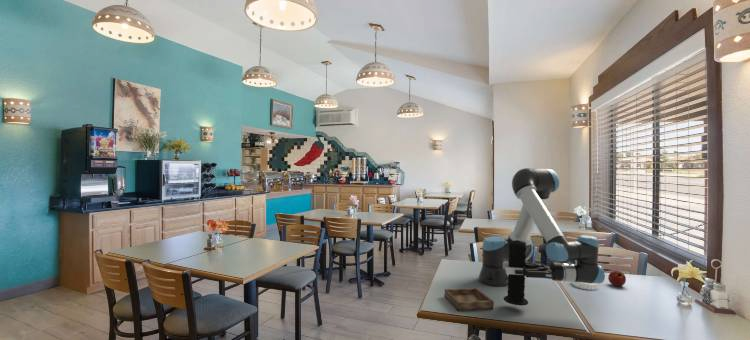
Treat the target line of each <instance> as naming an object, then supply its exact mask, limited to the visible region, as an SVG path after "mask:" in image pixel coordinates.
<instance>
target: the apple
mask: <svg viewBox="0 0 750 340" xmlns="http://www.w3.org/2000/svg"><path fill="white" fill-rule="evenodd" d="M607 280H608V282H609V283H610V284H611V285H613V286H615V287H622V286H625V283H626V282H627V277H626V275H625V274H624V273H623V272H621V270H613V271H610V273H609V274H608V277H607Z"/></svg>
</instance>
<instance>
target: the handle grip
mask: <svg viewBox="0 0 750 340" xmlns="http://www.w3.org/2000/svg"><path fill="white" fill-rule="evenodd" d="M509 244H510V245H509V261H507V262H508V263H509V265H508V266H509V267H512V268H525V265H526V263H525V262H526V261H527V260H525V259H526V255H525V254H526V247H525V246H526V243H525V242H522V241H519V240H514V241H509ZM507 275H508V285H507V295H505V296H504V297H503V301H504V302H506V303H507V304H510V305H514V306H527V305H528V304H529V301H528V299H526V298H525V296H526V295H525V291H526V290H525V289H526V288H525V287H526V278H525V277H526V276H524V275H514V274H507Z"/></svg>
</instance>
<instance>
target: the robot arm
mask: <svg viewBox="0 0 750 340" xmlns="http://www.w3.org/2000/svg"><path fill="white" fill-rule="evenodd" d="M511 187H512V190H513V193H514V195H515V197H516V199H518V200H520V201H521V202H522V206H521V209H520V211H519V215H518V217H517V221H516V222H515V226H514V228H513V231H512V232H509V234H508V237H507V239H506V237H503V236H496V235H495V236H488V237H485V238H484V240H483V241H482V267H481V269H480V271H479V274H478V281H479V282H480V283H481V284H484V285H487V286H490V287H491V286H492V287H505V286H508V274H514V275H524V276H525V277H526V278H534V279H535V278H536V279H549V280H551V281H555V282H556V281H557V282H561V281H562V282H568V283H572V282H582V283H590V284H592V283H593V284H598V283H599V284H602V283H604V281H605V279H606V278H605V277H606V274H605V270H604V268H603V266H601V265H599V264H598V261H599V248H600V247H599V239H598V238H597V237H596V236H592V235H586V234H584V235H583V234H582V235H578V236H577V238H576V241H574V240H573V241H568V240H567V238H566V236H565V234H564V233H563V232H562V230H561V229H560V227H559V226H558V224H557V222H556V220H554V218H553V216H552V214H551V213H550V211H549V210H548V208H547V206H546V205H545V203H544V202H545V200H548V199H549V198H550V195H551V193H555V192H557V190H558V189H559V187H560V178H559V176H558V174H557V173H556V171H555V170H554V169H551V168H545V167H543V168H529V167H528V168H527V167H526V168H521V169H519V170H518V171H516V172H515V174H514V175H513V176H512V180H511ZM535 226H536V228H537V229H538V232H540V234H541V236H542V237H543V239H544V241H545V242H546V246H545V252H546V256H547V258H548V260H550V261H551V262H550V264H549V265H546V264H543V263H542V262H528V261H527V260H530V258H532V256H533V254H534V245H533V243H532V242H533V241H532V239H531V236H532V233H533V231H534V228H535ZM514 240H519V241H522V242H525V243H526V246H525V247H526V254H525V255H526V259H525V260H526V261H527V262H526V261H525V263H526V265H525V268H512V267H509V266H508V265H509V263H508V262H509V245H510V244H509V241H514ZM567 261H568V262H567ZM570 261H576V263H572V262H570ZM566 262H567V263H566Z"/></svg>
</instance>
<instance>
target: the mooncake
mask: <svg viewBox="0 0 750 340" xmlns="http://www.w3.org/2000/svg"><path fill="white" fill-rule="evenodd" d="M571 284H572V286H574V287H576V288H579V289H583V290H588V291H596V290H599V286H600V285H599V284H600V283H598V284H593V283H592V284H590V283H582V282H571Z"/></svg>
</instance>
